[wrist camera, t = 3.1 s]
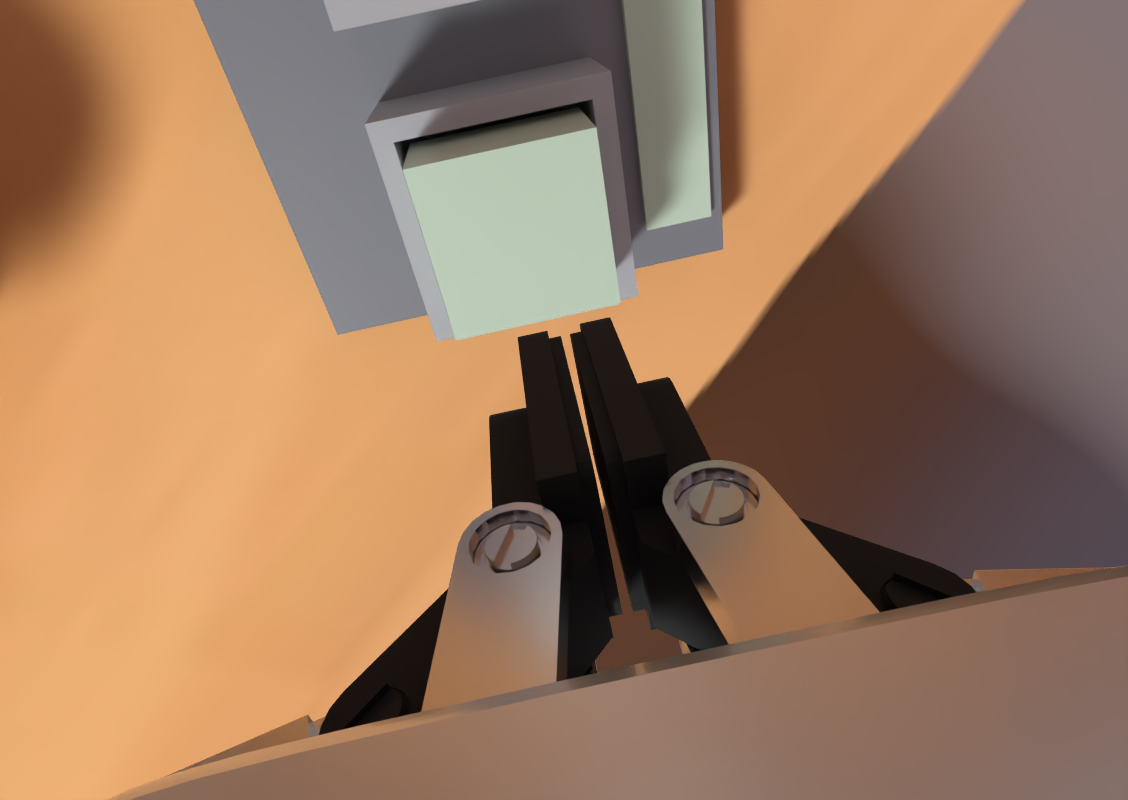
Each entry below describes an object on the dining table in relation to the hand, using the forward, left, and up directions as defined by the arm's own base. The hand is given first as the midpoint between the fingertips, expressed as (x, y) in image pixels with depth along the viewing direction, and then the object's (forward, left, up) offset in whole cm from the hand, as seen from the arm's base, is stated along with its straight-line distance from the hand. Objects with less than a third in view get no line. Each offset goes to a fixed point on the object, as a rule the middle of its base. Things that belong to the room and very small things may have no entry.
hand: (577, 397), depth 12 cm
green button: (0, 0, -10) cm, 10 cm away
